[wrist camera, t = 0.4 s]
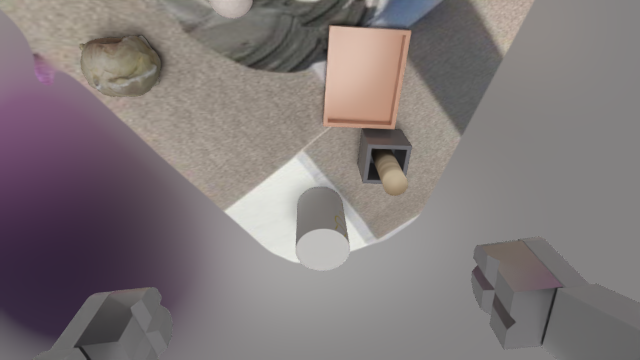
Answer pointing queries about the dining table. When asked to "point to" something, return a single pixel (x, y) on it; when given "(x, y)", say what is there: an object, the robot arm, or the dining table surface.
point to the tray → (364, 76)
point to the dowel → (389, 171)
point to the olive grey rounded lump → (120, 65)
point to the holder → (381, 141)
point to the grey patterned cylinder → (321, 230)
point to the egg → (231, 7)
